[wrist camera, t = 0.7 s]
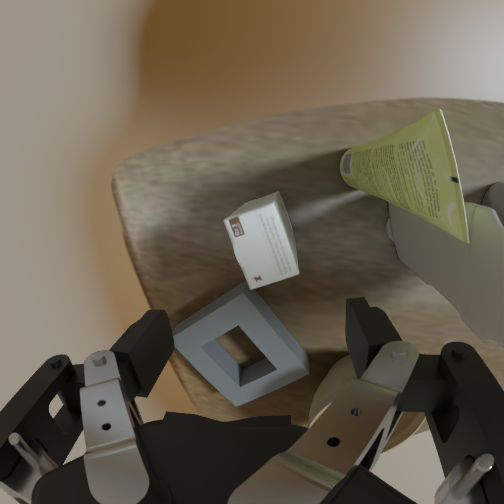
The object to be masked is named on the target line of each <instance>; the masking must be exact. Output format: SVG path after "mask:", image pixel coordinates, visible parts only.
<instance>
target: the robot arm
mask: <svg viewBox="0 0 504 504" xmlns="http://www.w3.org/2000/svg"><path fill="white" fill-rule="evenodd" d="M482 205H483V206H486V207H490V208H492V209H494V210H495V211H496V213H497V215H498V217H499V220H500V222H501V224H502V226H503V227H504V183H500V182H499V183H495V184H494V185H492V186H491V187H490V188H489V189H488V190H487V192H486V194H485V196H484V198H483V201H482ZM345 335H346V343H347V347H348V350H349V353H350V357H351V360H352V363H353V366H354V370H355V373H356V377H357V378H355V377H353V378H352V379H351V380H350V381H349V382H348V383H347V384H346V386H345V387H344V388H343V389H342V391H341V392H340V393H339V394H338V396H337V397H336V398H335V399H334V400H333V402H332V403H331V404H330V405H329V406H328V407H327V409H326V410H325V411H324V412H323V413H322V414H321V416H320V417H319V418H318V419H317V420H316V421H315V422H314V423H313V424H312V426H311V427H310V428H306V427H303V426H298V425H293V424H291V415H288V416H258V417H252V418H247V419H241V420H235V421H228V422H221V421H217V420H213V419H210V418H206V417H202V416H199V415H195V414H185V413H176V412H166V414H165V416H164V418H163V420H157V421H151V422H147V423H145V424H144V423H143V420H142V418H141V415H140V412H139V409H138V406H137V404H136V402H135V400H134V398H135V397H136V396H139V397H146V398H147V397H148V395H149V393H150V392H151V390H152V388H153V386H154V384H155V383H156V381H157V379H158V377H159V375H160V374H161V372H162V370H163V368H164V367H165V365H166V363H167V361H168V359H169V358H170V356H171V354H172V352H173V350H174V338H173V334H172V331H171V327H170V323H169V320H168V316H167V313H166V311H165V310H148V311H147V312H146V313H145V314H144V316H143V317H142V318H141V319H140V320H138V321H137V322H135V323H134V324H132V325H131V326H130V327H129V328H128V329H127V330H126V332H125V333H124V334H123V335H122V336H121V337H120V338H119V339H118V341H117V342H116V343H115V344H114V345H113V346H112V347H111V349H110V350H109V351H107V350H104V351H98V352H95V353H93V354H91V355H90V356H88V357H87V358H86V360H85V361H84V364H78V365H72V363H71V361H70V359H69V357H68V356H67V355H56V356H53V357H51V358H49V359H48V360H47V361H46V362H45V363H44V364H43V365H42V366H41V367H40V368H39V369H38V370H37V371H36V372H35V373H34V374H33V375H32V377H31V378H30V379H29V380H28V381H27V382H26V383H25V384H24V385H23V386H22V388H21V389H20V390H19V391H18V392H17V393H16V394H15V395H14V397H13V398H12V399H11V400H10V401H9V402H8V403H7V405H6V406H5V407H4V408H3V409H2V411H1V412H0V487H1V488H2V489H3V490H4V491H5V492H6V493H7V494H8V495H10V496H12V497H13V498H14V499H15V500H17V501H18V502H19V503H20V504H417V503H416V502H414V501H413V500H411V499H409V498H408V497H406V496H405V495H403V494H402V493H400V492H399V491H397V490H396V489H394V488H393V487H391V486H390V485H388V484H387V483H386V482H384V481H383V480H381V479H380V478H379V477H377V476H376V475H374V474H373V473H372V472H371V471H372V469H373V467H374V466H375V464H376V462H377V460H378V459H379V457H380V454H381V452H382V450H383V449H384V447H385V445H386V443H387V442H388V440H389V438H390V436H391V434H392V433H393V431H394V429H395V427H396V425H397V423H398V422H399V420H400V418H401V416H402V414H403V412H424V413H425V416H426V419H427V422H428V425H429V428H430V431H431V433H432V436H433V439H434V443H435V446H436V449H437V452H438V455H439V458H440V462H441V465H442V469H443V472H444V476H445V480H444V481H443V483H442V484H441V485H440V486H439V488H438V489H437V491H436V494H435V504H504V391H503V389H502V388H501V386H500V385H499V383H498V382H497V380H496V379H495V377H494V376H493V374H492V373H491V371H490V370H489V368H488V367H487V366H486V364H485V363H484V361H483V360H482V359H481V357H480V356H479V354H478V353H477V352H476V350H475V349H474V348H473V347H472V346H470V345H469V344H466V343H463V342H451V343H448V344H446V345H445V346H444V347H443V348H442V350H441V354H440V355H424V354H419V350H418V348H417V347H416V346H415V345H413V344H411V343H409V342H406V341H402V339H401V337H400V336H399V334H398V332H397V331H396V329H395V328H394V326H393V325H392V323H391V321H390V320H389V318H388V316H387V315H386V313H385V312H384V311H383V310H381V309H379V308H378V307H371V308H370V306H369V304H368V303H367V301H366V299H365V298H364V297H359V298H350V299H347V301H346V327H345ZM56 394H58V396H59V398H60V399H61V401H62V403H63V404H64V405H63V406H62V408H61V409H60V410H59V412H58V413H57V415H56V416H55V417H54V419H53V418H52V416H51V415H50V413H49V404H50V402H51V401H52V400H53V398H54V397H55V395H56ZM83 429H84V436H85V442H86V449H87V451H86V453H85V454H84V455H83V456H81V457H79V458H77V459H74V460H72V461H70V462H68V463H66V464H64V465H63V463H64V461H65V460H66V458H67V456H68V454H69V453H70V451H71V449H72V447H73V446H74V444H75V442H76V441H77V439H78V437H79V436H80V434H81V432H82V431H83Z"/></svg>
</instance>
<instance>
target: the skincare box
mask: <svg viewBox="0 0 504 504" xmlns="http://www.w3.org/2000/svg"><path fill="white" fill-rule="evenodd" d="M223 222H224V225H225V227H226V230H227V232H228V235H229V238H230V240H231V243H232V245H233V249H234V253H235V256H236V259H237V261H238V263H239V265H240V266H241V269H242V271H243V273H244V276H245V278H246V281H247V283H248V286H249V288H250V290H252V289H255V288H259V287H262V286H265V285H268V284H271V283H274V282H277V281H281V280H284V279H287V278H290V277H292V276H296V275H298V274H299V269H298V258H297V250H296V241H295V236H294V233H293V229H292V225H291V222H290V219H289V216H288V213H287V210H286V207H285V205H284V202H283V200H282V197H281V195H280V192H279V191H278V192H275V193H272V194H269V195H266V196H263V197H261V198H258V199H255V200H252V201H248V202H246V203H244V204H243V205H242V206H241V207H240V208H238V209H237V210H236V211H235V212H233V213H232V214H231V215H230V216H228V217H227V218H225V219H224V220H223Z"/></svg>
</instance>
